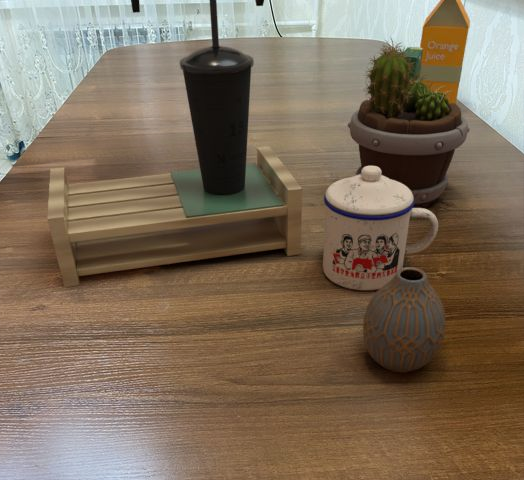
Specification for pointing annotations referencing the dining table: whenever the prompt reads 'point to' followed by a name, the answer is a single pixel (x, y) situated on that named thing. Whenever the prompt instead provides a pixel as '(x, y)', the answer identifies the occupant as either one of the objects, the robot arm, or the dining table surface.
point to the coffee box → (414, 60)
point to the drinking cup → (219, 111)
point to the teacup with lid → (369, 229)
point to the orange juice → (444, 47)
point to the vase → (404, 322)
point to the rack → (171, 219)
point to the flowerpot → (407, 128)
